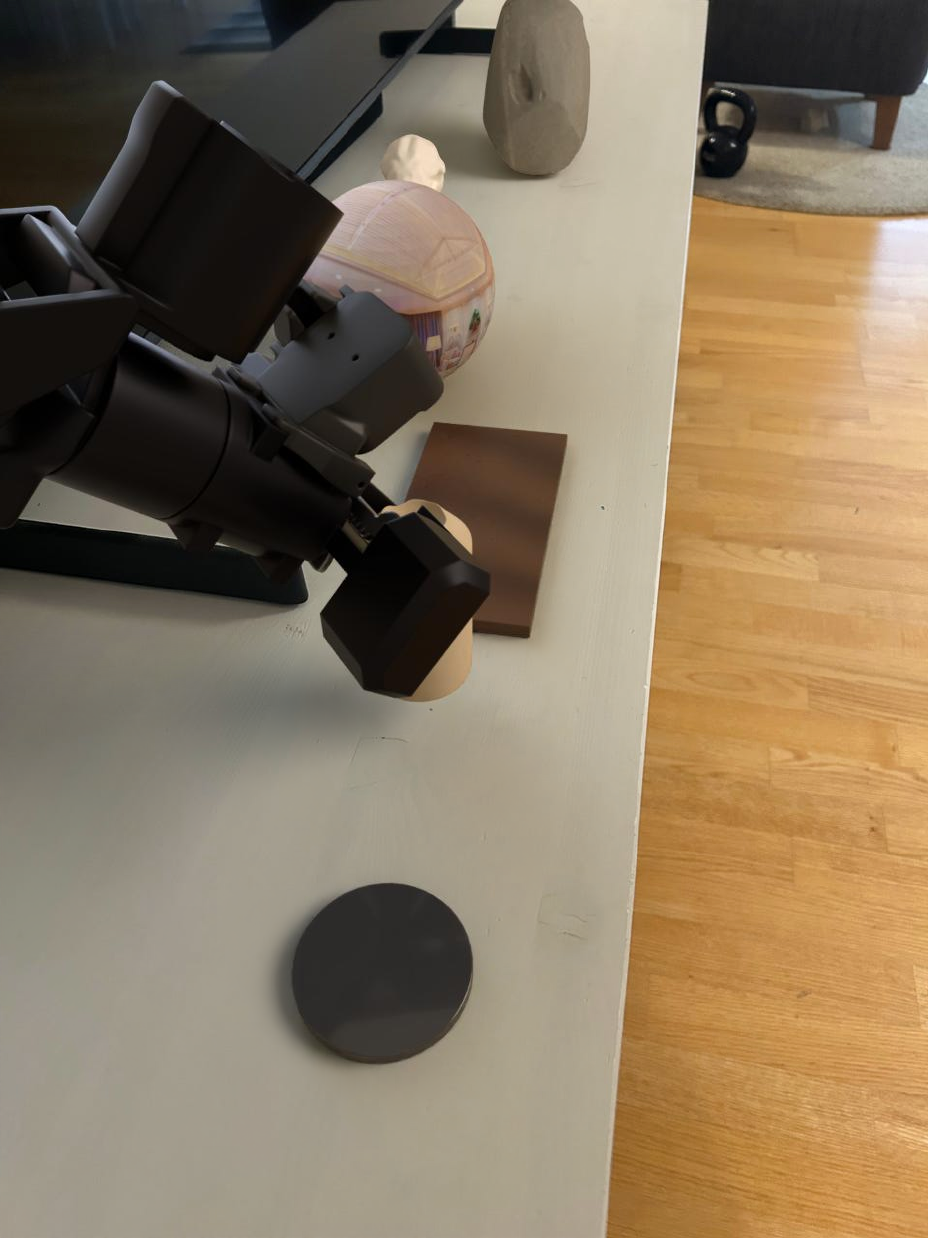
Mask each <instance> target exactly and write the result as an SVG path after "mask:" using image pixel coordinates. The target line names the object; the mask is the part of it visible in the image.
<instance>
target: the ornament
mask: <svg viewBox="0 0 928 1238" xmlns="http://www.w3.org/2000/svg"><path fill="white" fill-rule="evenodd" d="M331 202H332V203H333V204H334V205H335V206H336V207H338V208H339V209H340V210H341V211H342V212H343V213H344V215H343V217H342V218H341V220H340V222H339V223H338V225H337V226H336V228H335V229H334V231H333V232H332V234H331V235H330V237H329V238H328V240H327V242H326V243H325V245H324V246H323V248H322V249H321V251H320V252H319V254H318V255H317V257H316V259H315V260H314V262H313V263H312V265H311V266H310V268H309V269H308V271H307V272H306V274H305V275H304V277H303V279H305V280H307V281H309V282H311V283H313V284H315V285H317V286H319V287H321V288H323V289H325V290H326V291H328V292H329V293H330V294H332V295H333V296H335V297H338V298H343V297H342V295H341V294H340V292H339V289H340V288H341V287H342V286H343V285H345V284H346V285H348V286H349V287H350V288H351V289H352V290H354V291H355V292H358V291H368V292H371V293H373V294H374V295H375V296H377V297H378V298H379V299H380V300H382V301H383V302H384V303H385V304H387V305H388V306H389V307H390V308H392V309H393V310H394V311H395V312H397V313H398V314H399V315H400V316H402V317H403V318H404V319H405V320H407V321H408V322H409V323H410V324H411V325H412V327H413V329H414V330H415V332H416V334H417V336H418V338H419V339H420V341H421V343H422V345H423V347H424V348H425V350H426V352H427V354H428V355H429V357H430V359H431V361H432V363H433V364H434V366H435V368H436V370H437V372H438V373H439V375H440V377H441V379H442V381H443V380H444V379H446V378H448V377H449V376H451V375H453V374H455V372H457V371H458V370H459V369H460V368H462V367H463V365H465V363H467V362H468V360H469V359H470V358H471V357H472V356H473V355H474V353H475V352H476V351H477V349H478V348H479V346H480V345H481V342H482V341H483V339H484V337H485V335H486V333H487V330H488V328H489V325H490V323H491V321H492V316H493V312H494V309H495V300H496V299H495V298H496V277H495V270H494V265H493V259H492V256H491V253H490V250H489V247H488V245H487V242H486V240H485V238H484V236H483V235H482V233H481V231H480V229H479V228H478V225H476V223H475V222H474V221H473V219H472V217H470V215H469V214H468V213H467V212H466V211H465V210H464V209H463V208H462V207H461V206H460V205H459V204H457V202H455V201H454V200H452V199H451V198H450V197H448V196H447V195H446V194H444V193H442V192H441V191H440V192H438V191H436V190H434V189H432V188H430V187H428V186H425V185H421V184H418V183H414V182H410V181H403V180H386V179H384V180H376V181H371V182H368V183H365V184H362V185H359V186H357V187H354V188H351V189H349V190H347V191H346V192H344V193H343V194H341V195H339V196H338V197H337V198H335V199H334V200H332V201H331Z"/></svg>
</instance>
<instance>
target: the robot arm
mask: <svg viewBox="0 0 928 1238" xmlns="http://www.w3.org/2000/svg"><path fill="white" fill-rule="evenodd" d="M332 202H333V201H331V200H329V199H328V198H327V197H325V196H324V195H323V194H322V193H320V191H318V190H317V189H316V188H315V187H313V186H312V185H311V184H309V183H308V182H307V181H306V180H305V179H303V178H302V177H301V176H299V175H298V174H296V172H295V171H293V170H291V169H290V168H289V167H288V166H286V165H285V164H284V163H282V162H280V161H279V160H278V159H277V158H276V157H274V156H272V155H271V154H270V153H268V152H267V151H265V150H264V149H263V148H262V147H260V146H258V145H257V144H256V143H254V142H253V141H251V140H250V139H248V137H246V136H245V135H243V134H242V133H240V132H239V131H238V130H236V129H235V128H233V127H232V126H231V125H229V124H228V123H226V122H225V121H224V120H221V122H220V123H219V122H218V121H216V120H215V119H214V118H213V117H211V116H210V115H209V114H208V113H206V111H204V110H202V109H201V108H200V107H198V106H197V104H195V103H194V102H193V101H191V100H190V99H189V98H188V97H186V96H185V95H183V94H182V93H181V92H180V91H178V90H177V89H175V88H174V87H172V85H171V86H170V85H169V84H168V83H167V82H166V81H164V80H155V81H153V82H152V83H151V85H150V87H149V88H148V90H147V91H146V93H145V95H144V96H143V98H142V100H141V101H140V104H139V106H138V107H137V109H136V111H135V113H134V115H133V117H132V121H131V123H130V128H129V130H128V135H127V138H126V141H125V143H124V145H123V146H122V148H121V150H120V152H119V153H118V156H117V158H116V159H115V161H113V164H112V166H111V168H110V169H109V171H108V173H107V174H106V176H105V178H104V180H103V181H102V183H101V185H100V187H99V188H98V190H97V192H96V194H95V195H94V197H93V198H92V200H91V202H90V203H89V206H88V207H87V209H86V211H85V213H84V214H83V216H82V218H81V220H80V221H79V223H78V225H77V226H76V225H74V224H72V223H71V222H70V221H69V220H68V219H67V217H66V216H65V215H64V214H63V212H61V211H60V209H59V208H58V207H56V206H54V205H36V206H25V207H12V208H11V207H10V208H0V529H1V530H7V529H10V528H12V527H13V526H14V525H15V524H16V523H17V522H18V520H19V518H20V517H21V515H22V513H23V512H24V510H25V509H26V507H27V506H28V504H29V502H30V501H31V499H32V497H33V496H34V494H35V493H36V491H37V489H38V487H39V486H40V484H41V483H42V481H43V480H44V479H46V480H48V481H51V482H54V483H56V484H59V485H62V486H64V487H66V488H70V489H73V490H75V491H77V492H81V493H82V494H83V493H84V494H86V495H89V496H90V497H91V496H92V497H94V498H96V499H100V500H102V501H104V502H107V503H110V504H113V505H116V506H119V507H122V508H123V509H127V510H129V511H132V512H134V513H138V514H140V515H142V516H146V517H149V518H151V519H154V520H156V521H158V522H162V523H164V524H166V525H167V526H168V527H169V529H170V530H171V531H172V534H173V535H174V537H176V539H177V541H178V542H179V544H180V545H181V547H182V548H183V550H184V551H187V552H189V553H192V554H195V555H198V556H201V557H204V558H208V556H209V555H210V553H211V552H212V550H213V549H214V548H215V546H216V545H217V544H221V545H224V546H226V547H229V548H232V549H235V550H237V551H240V552H243V553H244V554H245V553H246V554H249V555H250V557H251V558H252V559H253V562H255V563H256V565H257V566H258V567H259V569H260V570H261V572H262V573H263V574H264V576H265V577H266V578H267V579H268V580H269V581H272V582H275V583H277V584H281V585H283V586H286V587H287V586H288V585H289V583H290V582H291V581H292V579H293V578H294V576H295V575H296V574H297V572H298V570H299V569H300V568H301V566H303V564H304V562H308V564H309V565H310V566H311V568H312V569H313V570H314V571H316V572H318V573H321V574H322V573H325V572H326V571H327V570H328V569H329V567H330V566H331V564H332V563H333V561H335V562H336V563H337V564H338V565H339V567H341V569H342V570H343V571H344V572H345V574H346V576H345V577H344V578H343V580H342V581H341V583H340V584H339V586H338V587H337V589H336V590H335V591H334V593H333V594H332V595H331V597H330V598H329V600H328V601H327V603H326V604H325V605H324V606H323V608H322V609H321V611H320V612H319V618H320V624H321V625H320V626H321V632H322V638H324V640H325V641H326V642H327V644H328V645H329V646H330V648H331V649H332V650H333V652H334V653H335V654H336V655H337V657H338V658H339V660H340V661H341V662H342V664H343V665H344V666H345V667H346V669H347V670H348V671H349V673H350V674H351V676H352V677H353V678H354V679H355V681H356V682H357V683H358V685H359V686H360V687H361V689H362V690H363V691H365V692H370V693H373V694H377V695H381V696H384V697H388V698H392V699H397V698H404V697H411V696H412V695H413V694H414V692H415V691H416V690H417V689H418V687H419V686H420V685H421V683H422V682H423V681H424V679H425V678H426V677H427V676H428V674H429V673H430V672H431V670H432V669H433V668H434V666H435V665H436V664H437V662H438V661H439V660H440V659H441V657H442V656H443V655H444V653H445V652H446V651H447V649H448V648H449V647H450V645H451V644H452V643H453V642H454V640H455V639H456V638H457V636H458V635H459V634H460V632H461V631H462V630H463V629H464V627H465V626H466V625H467V623H468V622H469V621H470V619H471V618H472V617H473V615H474V614H475V613H476V612H477V610H478V609H479V608H480V606H481V605H482V604H483V602H484V601H485V600H486V598H487V597H488V596H489V595H490V581H491V573H490V572H489V571H488V570H487V569H486V568H485V567H484V566H483V565H482V564H481V563H480V562H479V561H478V560H477V559H476V558H475V557H474V556H473V555H472V554H471V553H470V552H469V551H468V550H467V549H466V548H465V547H464V546H463V545H462V544H461V543H460V542H459V541H458V540H457V539H456V538H455V537H454V536H453V535H452V534H451V533H450V532H449V531H448V530H447V529H446V528H445V527H444V526H443V525H442V524H441V523H440V522H439V521H438V520H437V519H436V518H435V517H434V516H433V515H432V514H431V513H430V512H429V511H428V510H427V509H426V508H425V507H424V506H423V505H422V506H421V507H420V508H419V510H418V511H417V512H411V513H409V514H406V515H404V516H401V515H399V514H398V513H396V512H394V511H386V512H384V513H382V514H381V515H379V516H378V514H379V513H380V512H381V511H382V510H383V509H384V508H385V507H387V506H398V505H397V504H396V503H395V502H394V501H393V500H392V499H391V498H389V496H387V495H386V494H385V493H384V492H383V491H382V490H381V489H380V488H379V487H378V486H377V485H375V483H373V482H372V480H373V478H374V477H375V476H376V475H377V474H376V473H377V472H376V471H375V470H374V469H373V468H372V467H371V466H370V465H369V464H368V463H367V462H366V461H365V460H363V459H361V458H359V457H357V456H361V455H365V454H368V453H372V452H373V451H374V450H375V449H377V448H378V447H379V446H381V445H382V444H383V443H385V442H386V441H387V440H388V439H389V438H390V437H392V436H393V435H394V434H395V433H396V432H398V431H399V430H400V429H401V428H402V427H403V426H405V425H406V424H407V423H408V422H409V421H411V420H412V419H413V418H415V417H416V416H417V415H418V414H419V413H421V412H427V411H429V410H430V409H431V408H432V407H433V406H435V405H436V404H437V403H438V402H439V400H440V399H441V398H442V396H443V393H444V390H445V384H444V381H443V380H442V379H441V377H440V375H439V373H438V372H437V370H436V368H435V366H434V364H433V363H432V361H431V359H430V357H429V355H428V354H427V352H426V350H425V348H424V347H423V345H422V343H421V341H420V339H419V338H418V336H417V334H416V332H415V330H414V329H413V327H412V325H411V324H410V323H409V322H408V321H407V320H405V319H404V318H403V317H402V316H400V315H399V314H398V313H397V312H395V311H394V310H393V309H392V308H390V307H389V306H388V305H387V304H385V303H384V302H383V301H382V300H380V299H379V298H378V297H377V296H375V295H374V294H373V293H371V292H368V291H358V292H355V291H354V290H352V289H351V288H350V287H349V286H348V285H346V284H345V285H343V286H342V287H341V288H340V289H339V292H340V294H341V295H342V297H343V298H338V297H335V296H333V295H332V294H330V293H329V292H328V291H326V290H325V289H323V288H321V287H319V286H317V285H315V284H313V283H311V282H309V281H307V280H305V279H303V277H304V275H305V274H306V272H307V271H308V269H309V268H310V266H311V265H312V263H313V262H314V260H315V259H316V257H317V255H318V254H319V252H320V251H321V249H322V248H323V246H324V245H325V243H326V242H327V240H328V238H329V237H330V235H331V234H332V232H333V231H334V229H335V228H336V226H337V225H338V223H339V222H340V220H341V218H342V217H343V215H344V213H343V212H342V211H341V210H340V209H339V208H338V207H336V206H335V205H334V204H333V203H332ZM23 282H26V283H27V285H28V287H30V289H31V290H32V292H33V293H34V295H35V296H36V297H30V298H29V297H28V298H27V297H26V298H20V299H11V298H10V296H8V294H7V292H6V291H7V290H8V289H10V288H13V287H15V286H17V285H20V284H22V283H23ZM136 325H138V326H140V327H142V328H143V329H145V330H147V331H149V332H150V333H152V334H153V335H156V336H157V337H159V338H161V339H162V340H163V341H165V342H167V343H168V344H170V345H171V346H173V347H174V348H177V349H178V350H180V351H182V352H184V353H186V354H188V355H189V356H191V357H193V358H195V359H198V360H200V361H203V362H205V363H206V362H207V363H211V362H213V361H214V359H215V358H216V356H217V357H218V358H221V359H222V360H226V361H228V362H230V363H229V365H228V366H227V368H224V367H221V366H220V365H218V364H216V366H215V367H214V368H213V369H212V372H211V373H208V372H207V371H205V370H203V369H201V368H199V367H197V366H196V365H194V364H192V363H190V362H188V361H186V360H184V359H182V358H181V357H179V356H177V355H175V354H173V353H172V352H169V351H168V350H165V349H164V348H161V347H160V346H158V345H156V344H154V343H152V342H150V341H149V340H147V339H145V338H143V337H141V336H139V335H138V334H136V333H133V332H132V331H133V329H134V327H135V326H136ZM272 326H273V332H274V336H275V338H276V340H275V341H274V342H273V343H271V344H270V345H269V348H270V350H271V351H272V352H273V354H274V358H273V359H271V358H270V357H269V356H266V355H264V354H263V353H261V352H259V351H257V350H258V348H259V347H260V345H261V343H262V342H263V340H264V338H265V337H266V335H267V334H268V332H269V331H270V330H271V328H272ZM256 351H257V352H256ZM361 534H362V535H364V536H362V535H361ZM366 540H368V541H370V542H369V543H368V542H367V541H366Z"/></svg>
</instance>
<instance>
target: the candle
mask: <svg viewBox="0 0 928 1238" xmlns="http://www.w3.org/2000/svg"><path fill="white" fill-rule="evenodd" d="M422 505H423V506H424V507H425V508H426V509H427V510H428V511H429V512H430V513H431V514H432V515H433V516H434V517H435V518H436V519H437V520H438V521H439V522H440V523H441V524H442V525H443V526H444V527H445V528H446V529H447V530H448V531H449V532H450V533H451V534H452V535H453V536H454V537H455V538H456V539H457V540H458V541H459V542H460V543H461V544H462V545H463V546H464V547H465V548H466V549H467V550H468V551H469V552H470V553H471V554H472V537H471V534H470V531H469V529H468V528H467V526H466V525H465V524H464V523H463V522H462V521H461V520H460V519H458V518H457V517H456V516H454V515H452V514H451V513H449V512H448V511H446V510H444V509H443V508H442V507H440V506H439V505H438V504H436V503H432V502H428V501H424V500H418V499H412V500H408V501H407V502H405V503H404V502H403V503H401V504H399V505H397V506H387V507H385V508H384V509H383V510H382V511H381V512H380V513H379V514H378V516H379V515H381V514H382V513H384V512H386V511H394V512H396V513H398V514H399V515H401V516H404V515H406V514H409V513H411V512H417V511H418V510H419V508H420V507H421V506H422ZM361 535H362V534H361ZM362 536H364V535H362ZM366 541H367V542H368V543H369V542H370V541H368V540H366ZM472 664H473V631H472V618H471V619H470V621H469V622H468V623H467V625H466V626H465V627H464V629H463V630H462V631H461V632H460V634H459V635H458V636H457V638H456V639H455V640H454V642H453V643H452V644H451V645H450V647H449V648H448V649H447V651H446V652H445V653H444V655H443V656H442V657H441V659H440V660H439V661H438V662H437V664H436V665H435V666H434V668H433V669H432V670H431V672H430V673H429V674H428V676H427V677H426V678H425V679H424V681H423V682H422V683H421V685H420V686H419V687H418V689H417V690H416V691H415V692H414V694H413V695H412V696H411V697H404V698H396V699H398V700H401V701H404V702H412V703H426V702H433V701H437V700H440V699H443V698H445V697H448V696H450V695H451V694H453V693H454V692H456V691H457V690H458V689H460V688H461V686H462V685H464V683H465V682H466V680H467V679H468V677H469V675H470V673H471V668H472Z"/></svg>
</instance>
